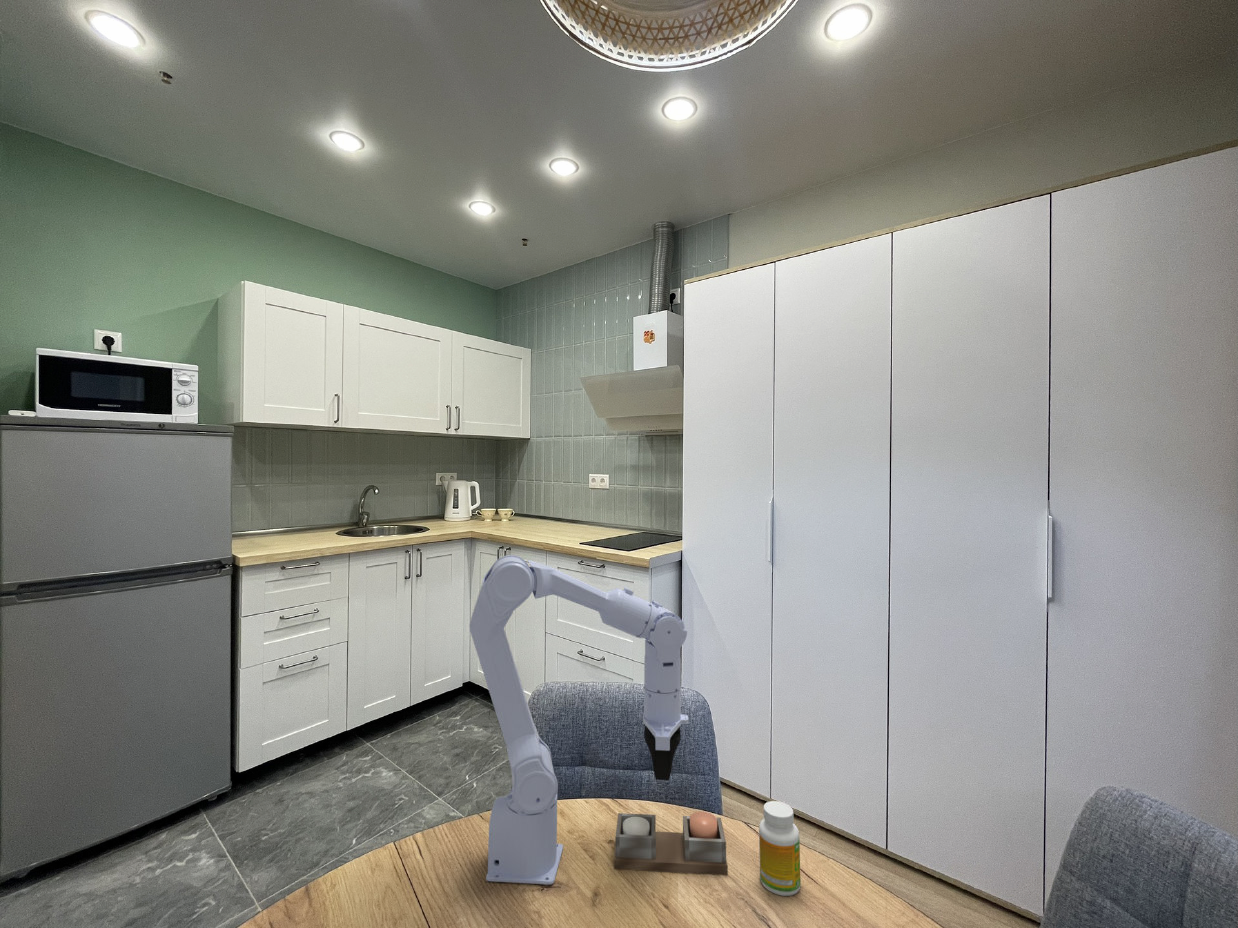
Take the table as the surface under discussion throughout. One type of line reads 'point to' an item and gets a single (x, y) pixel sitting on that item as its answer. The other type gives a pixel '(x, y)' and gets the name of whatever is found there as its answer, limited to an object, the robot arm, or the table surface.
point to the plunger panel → (669, 849)
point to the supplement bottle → (779, 850)
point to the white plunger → (636, 826)
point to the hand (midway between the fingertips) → (662, 777)
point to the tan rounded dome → (703, 825)
